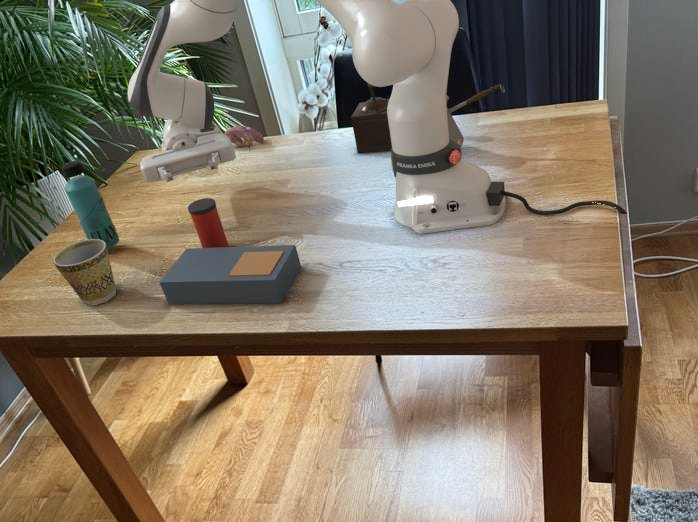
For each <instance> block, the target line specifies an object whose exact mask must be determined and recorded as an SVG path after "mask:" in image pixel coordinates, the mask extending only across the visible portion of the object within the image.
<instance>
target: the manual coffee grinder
mask: <svg viewBox="0 0 698 522" xmlns="http://www.w3.org/2000/svg"><path fill="white" fill-rule="evenodd" d="M367 87H368V88H369V92H370V98H369V99H367V100H366V101H365V102H364V101H363V102H359V103H358V105H357V106H356V108H355V110H354V112H353V113H352V114H351V116H350V121H351V124H352V130H353V135H354V141H355V145H356V146H355V147H356V153H357V154H374V153H375V154H376V153H385V152H391V149H392V143H391V136H390V129H389V122H388V116H387V107H388V102H389V99H390V98H388V97H389V96H387V97H386V98H383V97H381V96H379V97H376V95H375V90H374V87H376V86H373V85H371V84H369V83H368V82H367Z"/></svg>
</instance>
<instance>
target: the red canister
mask: <svg viewBox="0 0 698 522" xmlns="http://www.w3.org/2000/svg"><path fill="white" fill-rule="evenodd" d="M187 211H188V214H189V215H190V217H191V219H192V223H193V225H194V228H195V231H196V233H197V236H198V240H199V242H200V245H201V248H219V247H230V245H229V242H228V239H227V237H226V232H225V230H224V226H223V223H222V220H221V218H220V213H219V212H218V209H217V202H216V200H215V199H214V198H210V197H205V198H199V199H197V200H195V201H192V202H191V203H190V204H189V205H188V206H187Z"/></svg>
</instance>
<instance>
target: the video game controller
mask: <svg viewBox="0 0 698 522" xmlns="http://www.w3.org/2000/svg"><path fill="white" fill-rule="evenodd" d="M224 134H225V135H226V136H227V137H228V138H229V139H230V140H231V142H232V144H234V145H235V146H237V147H242V145H245V146H248V147H251V146H253V143H254V142H255V143H257V144H258V143H259V144H260V143H263V142H264V141H265V137H264V135H263V134H262V133H261V132H259V131H257V130H255V129H254V128H252V127H251V126H244V125H234V126H233V127H228V128H227V129H226V131H225V132H224Z"/></svg>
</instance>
